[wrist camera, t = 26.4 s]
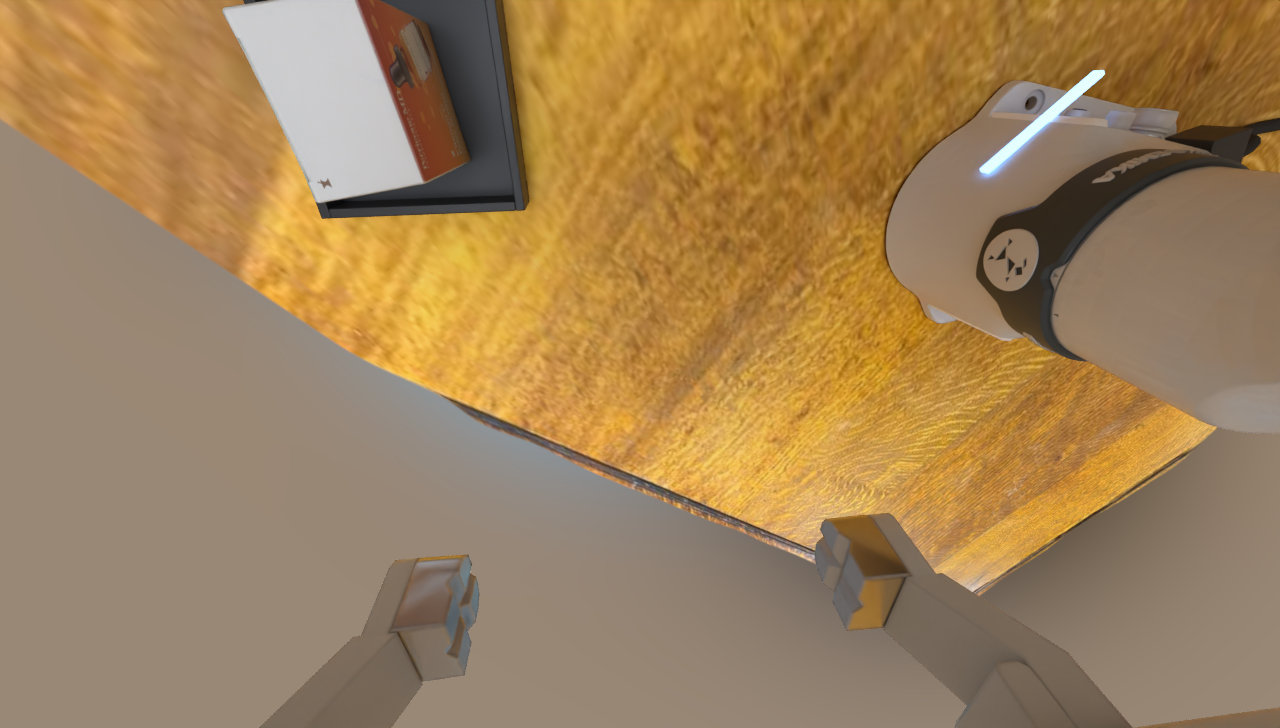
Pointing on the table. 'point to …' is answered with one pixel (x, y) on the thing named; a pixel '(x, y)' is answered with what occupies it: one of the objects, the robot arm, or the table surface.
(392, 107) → the small box
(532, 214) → the table surface
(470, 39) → the tray
